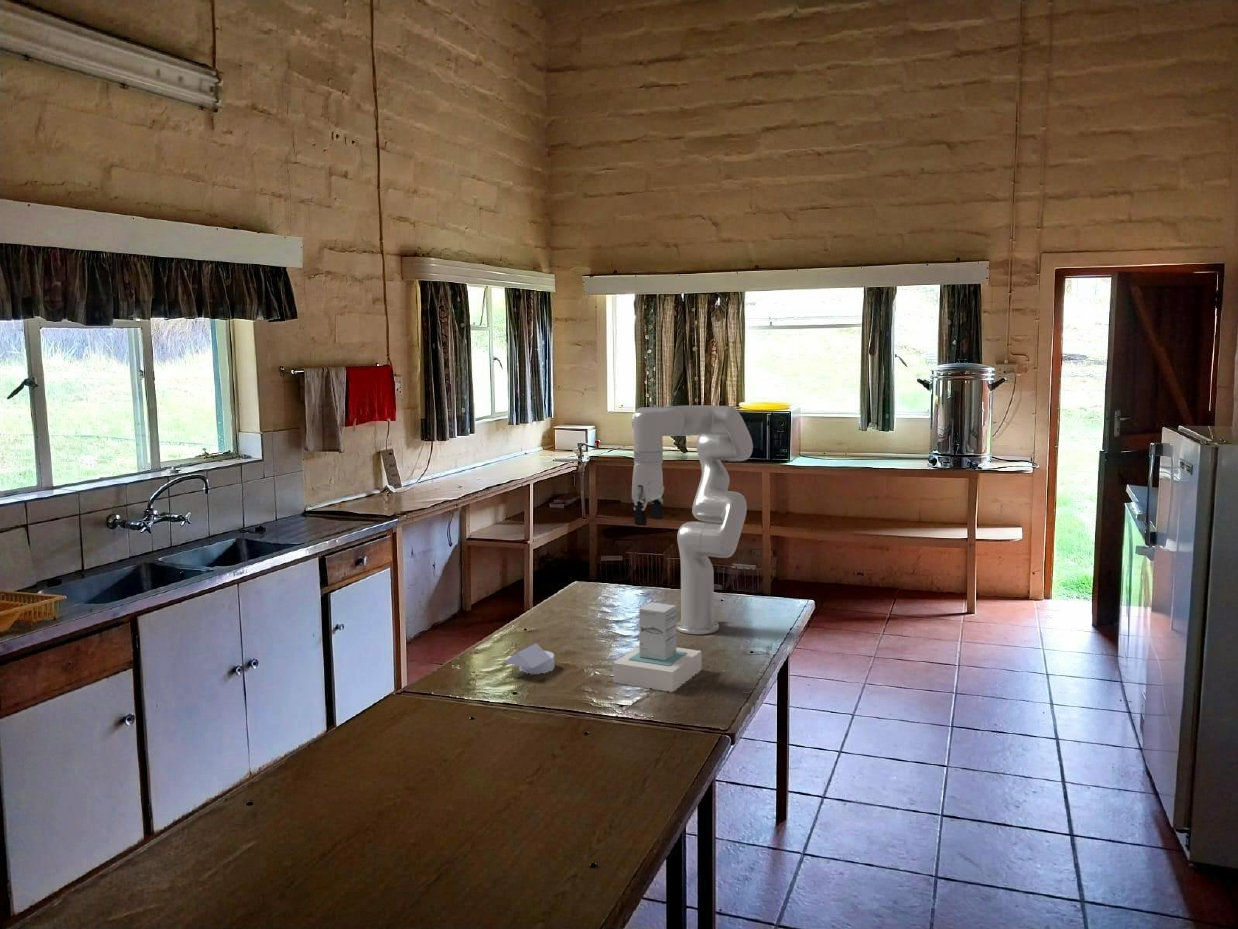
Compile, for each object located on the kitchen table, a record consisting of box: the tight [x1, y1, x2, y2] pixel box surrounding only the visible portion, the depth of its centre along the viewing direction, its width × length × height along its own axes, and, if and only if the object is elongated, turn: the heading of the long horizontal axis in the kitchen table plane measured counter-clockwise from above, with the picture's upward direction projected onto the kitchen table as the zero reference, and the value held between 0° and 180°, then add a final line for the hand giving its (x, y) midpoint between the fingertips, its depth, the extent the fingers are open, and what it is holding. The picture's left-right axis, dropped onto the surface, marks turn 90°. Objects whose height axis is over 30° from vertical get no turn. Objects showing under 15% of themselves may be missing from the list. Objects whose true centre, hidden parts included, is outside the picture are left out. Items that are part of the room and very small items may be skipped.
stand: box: [612, 646, 702, 693], centre depth 246 cm, size 18×16×5 cm
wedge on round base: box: [503, 642, 555, 675], centre depth 252 cm, size 9×7×13 cm
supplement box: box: [638, 601, 678, 661], centre depth 245 cm, size 7×7×13 cm
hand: (648, 522), depth 259 cm, fingers open, 9 cm apart
